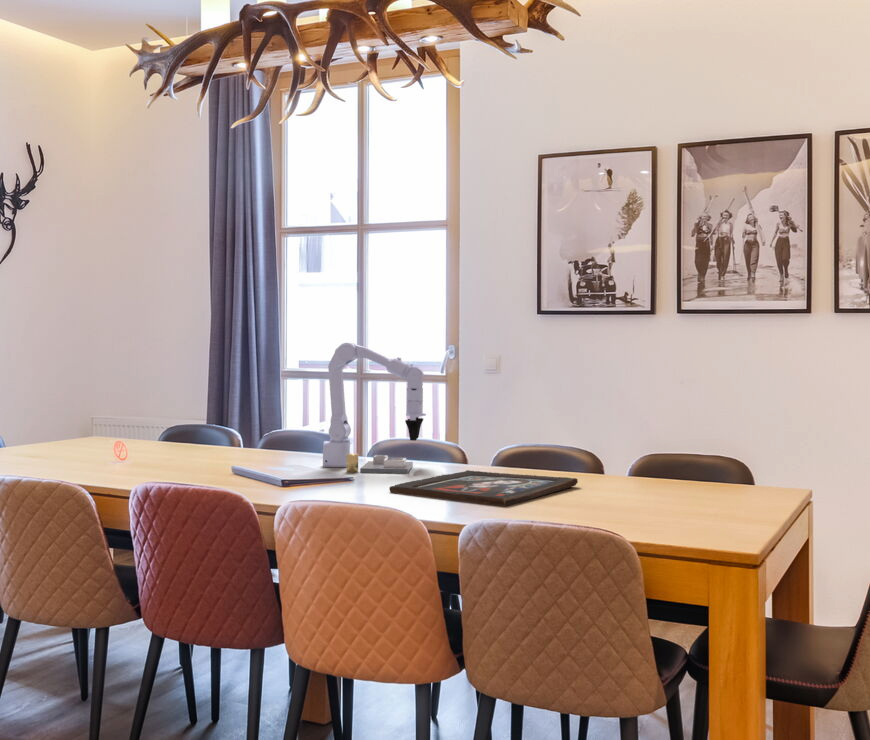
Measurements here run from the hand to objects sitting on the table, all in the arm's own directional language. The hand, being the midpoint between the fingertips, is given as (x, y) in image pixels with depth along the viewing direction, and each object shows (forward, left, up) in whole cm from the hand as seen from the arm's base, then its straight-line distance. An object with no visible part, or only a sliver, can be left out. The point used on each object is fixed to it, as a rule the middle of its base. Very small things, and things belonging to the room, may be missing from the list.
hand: (414, 439), depth 308 cm
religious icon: (+26, -48, -11) cm, 56 cm away
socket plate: (-9, -6, -10) cm, 15 cm away
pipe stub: (-20, -14, -10) cm, 26 cm away
